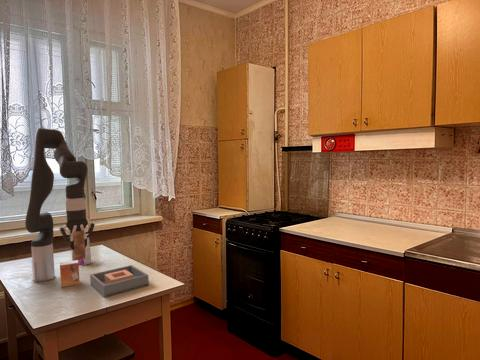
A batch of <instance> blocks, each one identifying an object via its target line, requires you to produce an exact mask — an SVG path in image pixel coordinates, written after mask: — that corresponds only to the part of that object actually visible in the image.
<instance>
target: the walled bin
mask: <svg viewBox="0 0 480 360" xmlns="http://www.w3.org/2000/svg"><path fill="white" fill-rule="evenodd" d="M89 277H90V279H89V281H90V285H91V287H92V288H93V289H95V290H96V291H97V292H98V293H99V294H100V295H101V296H102V297H103V298H108V297H111V296H115V295H118V294H123V293H126V292H130V291H133V290H137V289H140V288H144V287H148V286H150V285H149V284H150V282H149V281H150V280H149V274H147V273H146V272H145V271H142V270H140V269H139V268H137V267H136V266H134V265H132V264H130V265H126V266H125V265H124V266H121V267H118V268H113V269H107V270H104V271H99V272H96V273H90V274H89Z"/></svg>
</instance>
